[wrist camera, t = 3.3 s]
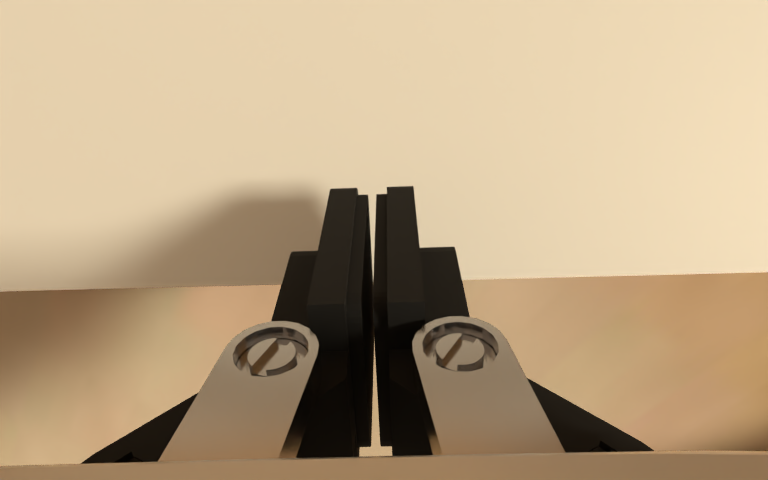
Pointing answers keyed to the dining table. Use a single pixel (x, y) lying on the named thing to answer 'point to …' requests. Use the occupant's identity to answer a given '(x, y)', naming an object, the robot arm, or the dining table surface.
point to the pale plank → (380, 135)
